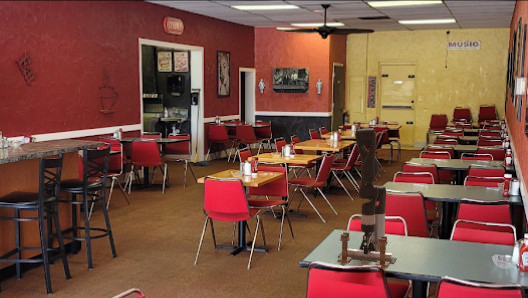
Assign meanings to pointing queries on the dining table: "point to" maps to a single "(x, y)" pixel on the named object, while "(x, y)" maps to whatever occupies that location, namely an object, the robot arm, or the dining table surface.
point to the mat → (370, 259)
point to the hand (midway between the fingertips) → (367, 251)
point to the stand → (346, 259)
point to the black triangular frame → (371, 246)
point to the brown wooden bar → (370, 254)
